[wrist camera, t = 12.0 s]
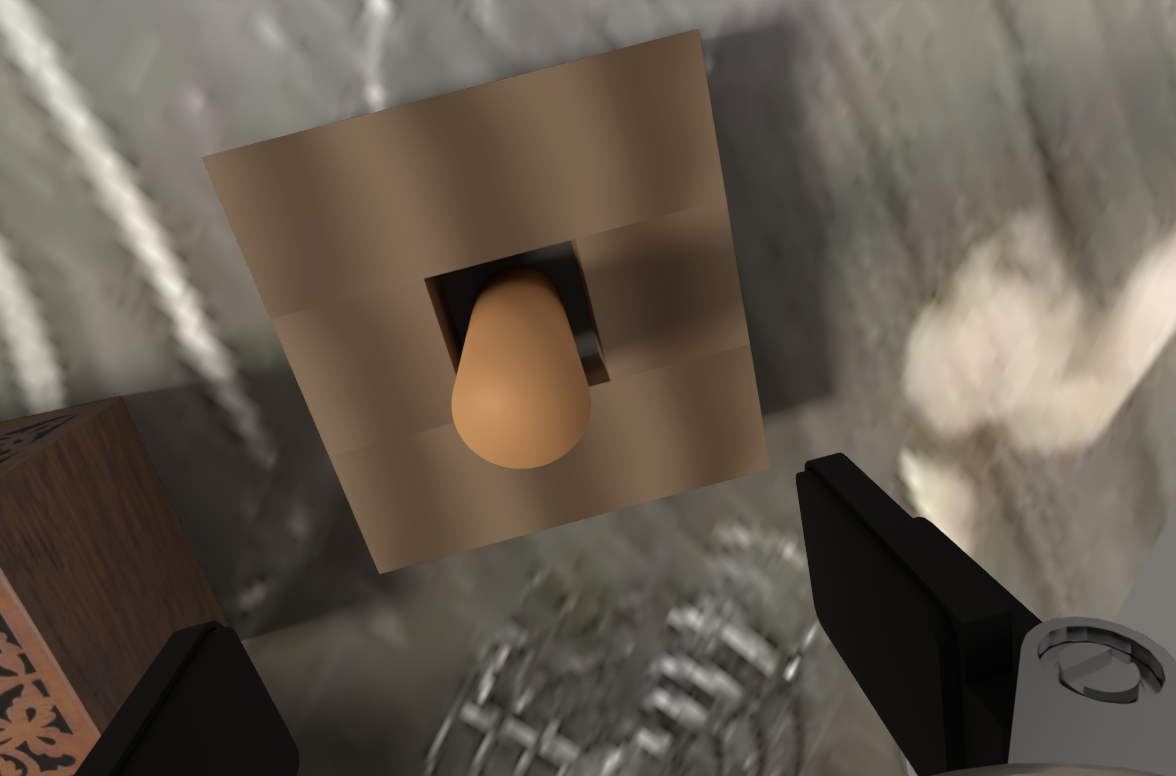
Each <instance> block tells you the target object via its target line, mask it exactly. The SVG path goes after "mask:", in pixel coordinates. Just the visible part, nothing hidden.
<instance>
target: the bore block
mask: <svg viewBox="0 0 1176 776" xmlns="http://www.w3.org/2000/svg"><path fill="white" fill-rule="evenodd" d="M202 159H203V161H204V164H205V166H206V169H207V171H208V173H209V176H210V178H211V180H212V183H213V185H214V187H215V190H216V192H217V194H218V197H219V199H220V201H221V204H222V206H223V208H224V211H225V213H226V215H227V218H228V220H229V223H230V225H231V227H232V230H233V232H234V234H235V237H236V239H237V241H238V244H239V246H240V248H241V251H242V253H243V255H244V258H245V260H246V262H247V265H248V267H249V269H250V272H251V274H252V277H253V279H254V281H255V284H256V286H257V288H258V291H259V293H260V295H261V298H262V300H263V302H264V305H265V307H266V309H267V312H268V314H269V316H270V319H271V321H272V323H273V326H274V328H275V331H276V333H277V335H278V338H279V340H280V342H281V345H282V347H283V349H284V352H285V354H286V356H287V359H288V361H289V363H290V366H291V368H292V370H293V373H294V375H295V377H296V380H297V382H298V384H299V387H300V389H301V392H302V394H303V396H304V399H305V401H306V403H307V406H308V408H309V410H310V413H311V415H312V417H313V420H314V422H315V424H316V427H317V429H318V431H319V434H320V436H321V438H322V441H323V443H324V446H325V448H326V450H327V453H328V455H329V457H330V460H331V462H332V464H333V467H334V469H335V471H336V474H337V476H338V478H339V481H340V483H341V485H342V488H343V490H344V492H345V495H346V497H347V500H348V502H349V504H350V507H351V509H352V511H353V514H354V516H355V518H356V521H357V523H358V525H359V528H360V530H361V532H362V535H363V537H364V539H365V542H366V544H367V546H368V549H369V551H370V554H371V556H372V558H373V561H374V563H375V565H376V568H377V570H378V572H379V574H382V573H386V572H389V571H393V570H397V569H400V568H404V567H408V566H411V565H415V564H419V563H423V562H426V561H430V560H434V559H437V558H441V557H445V556H448V555H452V554H456V553H460V552H463V551H467V550H471V549H474V548H478V547H482V546H486V545H489V544H493V543H497V542H500V541H504V540H508V539H511V538H515V537H519V536H523V535H526V534H530V533H534V532H537V531H541V530H545V529H548V528H552V527H556V526H560V525H563V524H567V523H571V522H574V521H578V520H582V519H586V518H589V517H593V516H597V515H600V514H604V513H608V512H611V511H615V510H619V509H623V508H626V507H630V506H634V505H637V504H641V503H645V502H648V501H652V500H656V499H660V498H663V497H667V496H671V495H674V494H678V493H682V492H685V491H689V490H693V489H697V488H700V487H704V486H708V485H711V484H715V483H719V482H723V481H726V480H730V479H734V478H737V477H741V476H745V475H748V474H752V473H756V472H760V471H763V470H767V469H770V464H769V458H768V452H767V446H766V440H765V433H764V427H763V421H762V415H761V409H760V403H759V397H758V390H757V384H756V378H755V372H754V366H753V360H752V353H751V347H750V341H749V335H748V329H747V323H746V317H745V310H744V304H743V298H742V292H741V286H740V280H739V274H738V267H737V261H736V255H735V249H734V243H733V237H732V231H731V224H730V218H729V212H728V206H727V200H726V194H725V188H724V181H723V175H722V169H721V163H720V157H719V151H718V145H717V138H716V132H715V126H714V120H713V114H712V108H711V101H710V95H709V89H708V83H707V77H706V71H705V65H704V58H703V52H702V46H701V40H700V34H699V29H696V30H692V31H688V32H684V33H680V34H676V35H672V36H669V37H665V38H661V39H657V40H653V41H649V42H645V43H641V44H638V45H634V46H630V47H626V48H622V49H618V50H614V51H611V52H607V53H603V54H599V55H595V56H591V57H587V58H583V59H580V60H576V61H572V62H568V63H564V64H560V65H556V66H552V67H549V68H545V69H541V70H537V71H533V72H529V73H525V74H522V75H518V76H514V77H510V78H506V79H502V80H498V81H494V82H491V83H487V84H483V85H479V86H475V87H471V88H467V89H463V90H460V91H456V92H452V93H448V94H444V95H440V96H436V97H433V98H429V99H425V100H421V101H417V102H413V103H409V104H405V105H402V106H398V107H394V108H390V109H386V110H382V111H378V112H375V113H371V114H367V115H363V116H359V117H355V118H351V119H347V120H344V121H340V122H336V123H332V124H328V125H324V126H320V127H316V128H313V129H309V130H305V131H301V132H297V133H293V134H289V135H286V136H282V137H278V138H274V139H270V140H266V141H262V142H258V143H255V144H251V145H247V146H243V147H239V148H235V149H231V150H227V151H224V152H220V153H216V154H212V155H208V156H204V157H202ZM512 266H524V267H529V268H532V269H535V270H537V271H539V272H541V273H543V274H544V275H546V276H547V277H548V278H549V279H550V280H551V281H552V282H553V283H554V285H555V286H556V288H557V289H558V292H559V294H560V297H561V300H562V303H563V306H564V309H565V312H566V315H567V319H568V322H569V325H570V328H571V331H572V335H573V338H574V341H575V344H576V347H577V351H578V354H579V357H580V360H581V363H582V367H583V370H584V373H585V376H586V379H587V383H588V386H589V389H590V395H591V413H590V417H589V421H588V424H587V427H586V429H585V431H584V433H583V435H582V437H581V438H580V439H579V441H578V442H577V443H576V445H575V446H574V447H573V448H572V449H571V450H570V451H568V452H567V453H566V454H565V455H563V456H562V457H560V458H559V459H557V460H555V461H553V462H551V463H549V464H546V465H543V466H539V467H535V468H527V469H514V468H507V467H503V466H499V465H496V464H493V463H491V462H489V461H487V460H485V459H483V458H481V457H480V456H479V455H477V454H476V453H475V452H473V451H472V450H471V449H470V448H469V447H468V446H467V444H466V443H465V442H464V441H463V439H462V438H461V436H460V434H459V433H458V431H457V428H456V426H455V423H454V420H453V416H452V408H451V407H452V394H453V389H454V385H455V380H456V376H457V372H458V368H459V364H460V360H461V356H462V351H463V347H464V343H465V339H466V335H467V331H468V327H469V323H470V318H471V314H472V310H473V306H474V302H475V298H476V295H477V292H478V290H479V288H480V287H481V285H482V284H483V282H484V281H485V280H486V279H487V278H488V277H489V276H490V275H492V274H493V273H495V272H497V271H499V270H501V269H504V268H507V267H512Z"/></svg>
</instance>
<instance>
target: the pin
mask: <svg viewBox="0 0 1176 776" xmlns="http://www.w3.org/2000/svg"><path fill="white" fill-rule="evenodd" d="M451 408H452V416H453V420H454V423H455V426H456V428H457V431H458V433H459V434H460V436H461V438H462V439H463V441H464V442H465V443H466V444H467V446H468V447H469V448H470V449H471V450H472V451H473V452H475V453H476V454H477V455H479V456H480V457H481V458H483V459H485V460H487V461H489V462H491V463H493V464H496V465H499V466H503V467H507V468H514V469H527V468H535V467H539V466H543V465H546V464H549V463H551V462H553V461H555V460H557V459H559V458H560V457H562V456H563V455H565V454H566V453H567V452H568V451H570V450H571V449H572V448H573V447H574V446H575V445H576V443H577V442H578V441H579V439H580V438H581V437H582V435H583V433H584V431H585V429H586V427H587V424H588V421H589V417H590V413H591V395H590V389H589V386H588V383H587V379H586V376H585V373H584V370H583V367H582V363H581V360H580V357H579V354H578V351H577V347H576V344H575V341H574V338H573V335H572V331H571V328H570V325H569V322H568V319H567V315H566V312H565V309H564V306H563V303H562V300H561V297H560V294H559V292H558V289H557V288H556V286H555V285H554V283H553V282H552V281H551V280H550V279H549V278H548V277H547V276H546V275H544V274H543V273H541V272H539V271H537V270H535V269H532V268H529V267H524V266H512V267H507V268H504V269H501V270H499V271H497V272H495V273H493V274H492V275H490V276H489V277H488V278H487V279H486V280H485V281H484V282H483V284H482V285H481V287H480V288H479V290H478V292H477V295H476V298H475V302H474V306H473V310H472V314H471V318H470V323H469V327H468V331H467V335H466V339H465V343H464V347H463V351H462V356H461V360H460V364H459V368H458V372H457V376H456V380H455V385H454V389H453V394H452V407H451Z"/></svg>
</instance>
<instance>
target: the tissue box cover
mask: <svg viewBox="0 0 1176 776" xmlns="http://www.w3.org/2000/svg"><path fill="white" fill-rule="evenodd" d="M210 621H218V622H219V623H221V624H222V625H223V626H224V627H226V626H228V627H230V626H229V624H228V621H227V619H226V617H225V615H224V613H223V611H222V609H221V607H220V605H219V602H218V600H217V598H216V596H215V594H214V592H213V590H212V588H211V586H210V584H209V581H208V579H207V577H206V575H205V573H204V571H203V569H202V567H201V565H200V563H199V560H198V558H197V556H196V554H195V552H194V550H193V548H192V546H191V544H190V541H189V539H188V537H187V535H186V533H185V531H184V529H183V527H182V525H181V523H180V520H179V518H178V516H177V514H176V512H175V510H174V508H173V506H172V504H171V501H170V499H169V497H168V495H167V493H166V491H165V489H164V487H163V485H162V482H161V480H160V478H159V476H158V474H157V472H156V470H155V468H154V466H153V463H152V461H151V459H150V457H149V455H148V453H147V451H146V449H145V447H144V445H143V442H142V440H141V438H140V436H139V434H138V432H137V430H136V428H135V426H134V423H133V421H132V419H131V417H130V415H129V413H128V411H127V409H126V407H125V404H124V402H123V400H122V398H121V396H119V397H115V398H110V399H105V400H101V401H96V402H91V403H87V404H82V405H78V406H73V407H68V408H64V409H59V410H54V411H50V412H45V413H40V414H36V415H31V416H27V417H22V418H17V419H13V420H8V421H3V422H0V776H73V775H74V774H75V772H76V771H77V769H78V768H79V767H80V765H81V764H82V762H83V761H84V759H85V758H86V757H87V755H88V754H89V752H90V751H91V749H92V748H93V747H94V745H95V744H96V742H97V741H98V739H99V738H100V737H101V735H102V734H103V732H104V731H105V729H106V728H107V727H108V725H109V724H110V722H111V721H112V719H113V718H114V716H115V715H116V714H117V712H118V711H119V709H120V708H121V706H122V705H123V704H124V702H125V701H126V699H127V698H128V696H129V695H130V694H131V692H132V691H133V689H134V688H135V686H136V685H137V684H138V682H139V681H140V679H141V678H142V676H143V675H144V674H145V672H146V671H147V669H148V668H149V666H150V665H151V664H152V662H153V661H154V659H155V658H156V656H157V655H158V653H159V652H160V651H161V649H162V648H163V646H164V645H165V643H166V642H167V641H168V639H169V638H170V636H171V635H172V634H173V633H174V632H175V631H177V630H180V629H183V628H187V627H191V626H195V625H198V624H202V623H206V622H210Z"/></svg>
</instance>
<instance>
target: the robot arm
mask: <svg viewBox="0 0 1176 776" xmlns="http://www.w3.org/2000/svg"><path fill="white" fill-rule="evenodd" d="M796 485H797V492H798V499H799V505H800V512H801V519H802V526H803V532H804V539H805V546H806V553H807V559H808V566H809V573H810V580H811V586H812V593H813V600H814V606H815V610H816V613H817V616H818V619H819V621H820V624H821V626H822V627H823V629H824V631H825V632H826V634H827V636H828V637H829V639H830V640H831V642H832V643H833V645H834V646H835V648H836V650H837V651H838V653H839V654H840V656H841V657H842V659H843V660H844V662H845V664H846V665H847V667H848V668H849V670H850V671H851V673H852V674H853V676H854V678H855V679H856V681H857V682H858V684H859V685H860V687H861V688H862V690H863V692H864V693H865V695H866V696H867V698H868V699H869V701H870V703H871V704H872V706H873V707H874V709H875V710H876V712H877V713H878V715H879V717H880V718H881V720H882V721H883V723H884V724H885V726H886V727H887V729H888V731H889V732H890V734H891V735H892V737H893V738H894V740H895V741H896V743H897V745H898V746H899V748H900V759H901V762H902V766H903V769H904V771H905V773H906V774H907V776H1176V661H1175V660H1174V659H1173V658H1172V656H1171V655H1170V654H1169V653H1168V652H1167V651H1166V650H1165V649H1164V648H1163V647H1161V646H1160V645H1159V644H1157V643H1156V642H1154V641H1153V640H1151V639H1150V638H1148V637H1147V636H1145V635H1143V634H1141V633H1139V632H1137V631H1134V630H1132V629H1130V628H1128V627H1125V626H1123V625H1120V624H1116V623H1112V622H1109V621H1105V620H1101V619H1095V618H1084V617H1066V618H1056V619H1052V620H1049V621H1046V622H1042V621H1040V620H1039V619H1038V618H1037V617H1036V616H1035V615H1034V614H1033V613H1032V612H1030V611H1029V610H1028V609H1027V608H1026V607H1025V606H1024V605H1023V604H1022V603H1020V602H1019V601H1018V600H1017V599H1016V598H1015V597H1014V596H1013V595H1012V594H1010V593H1009V592H1008V591H1007V590H1006V589H1005V588H1004V587H1003V586H1002V585H1000V584H999V583H998V582H997V581H996V580H995V579H994V578H993V577H992V576H990V575H989V574H988V573H987V572H986V571H985V570H984V569H983V568H982V567H980V566H979V565H978V564H977V563H976V562H975V561H974V560H973V559H972V558H971V557H969V556H968V555H967V554H966V553H965V552H964V551H963V550H962V549H961V548H959V547H958V546H957V545H956V544H955V543H954V542H953V541H952V540H951V539H949V538H948V537H947V536H946V535H945V534H944V533H943V532H942V531H941V530H939V529H938V528H937V527H936V526H935V525H934V524H933V523H932V522H930V521H929V520H927V519H926V518H923V517H915V518H912V517H911V516H910V515H909V514H908V513H907V512H906V511H904V510H903V509H902V508H901V507H900V506H899V505H898V504H897V503H896V502H895V501H894V500H893V499H892V498H891V497H889V496H888V495H887V494H886V493H885V492H884V491H883V490H882V489H881V488H880V487H879V486H878V485H877V484H876V483H874V482H873V481H872V480H871V479H870V478H869V477H868V476H867V475H866V474H865V473H864V472H863V471H862V470H860V469H859V468H858V467H857V466H856V465H855V464H854V463H853V462H852V461H851V460H850V459H849V458H848V457H847V456H845V455H844V454H843V453H836V454H832V455H828V456H825V457H821V458H817V459H813V460H810V461H807V462H806V463H805V471H803V472H800V473H797V474H796ZM298 769H299V753H298V749H297V746H296V744H295V742H294V740H293V738H292V736H291V734H290V733H289V731H288V729H287V727H286V725H285V723H284V721H283V719H282V718H281V716H280V714H279V712H278V710H277V708H276V706H275V705H274V703H273V701H272V699H271V697H270V695H269V693H268V691H267V690H266V688H265V686H264V684H263V682H262V680H261V678H260V676H259V675H258V673H257V671H256V669H255V667H254V665H253V663H252V662H251V660H250V658H249V656H248V654H247V652H246V650H245V648H244V647H243V645H242V643H241V641H240V639H239V637H238V635H237V633H236V632H235V631H234V629H232V628H231V627H228V626H226V627H224V626H223V625H222V624H221V623H219V622H218V621H210V622H206V623H202V624H198V625H195V626H191V627H187V628H183V629H180V630H177V631H175V632H174V633H173V634H172V635H171V636H170V638H169V639H168V641H167V642H166V643H165V645H164V646H163V648H162V649H161V651H160V652H159V653H158V655H157V656H156V658H155V659H154V661H153V662H152V664H151V665H150V666H149V668H148V669H147V671H146V672H145V674H144V675H143V676H142V678H141V679H140V681H139V682H138V684H137V685H136V686H135V688H134V689H133V691H132V692H131V694H130V695H129V696H128V698H127V699H126V701H125V702H124V704H123V705H122V706H121V708H120V709H119V711H118V712H117V714H116V715H115V716H114V718H113V719H112V721H111V722H110V724H109V725H108V727H107V728H106V729H105V731H104V732H103V734H102V735H101V737H100V738H99V739H98V741H97V742H96V744H95V745H94V747H93V748H92V749H91V751H90V752H89V754H88V755H87V757H86V758H85V759H84V761H83V762H82V764H81V765H80V767H79V768H78V769H77V771H76V772H75V774H74V775H73V776H297V773H298Z"/></svg>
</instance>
